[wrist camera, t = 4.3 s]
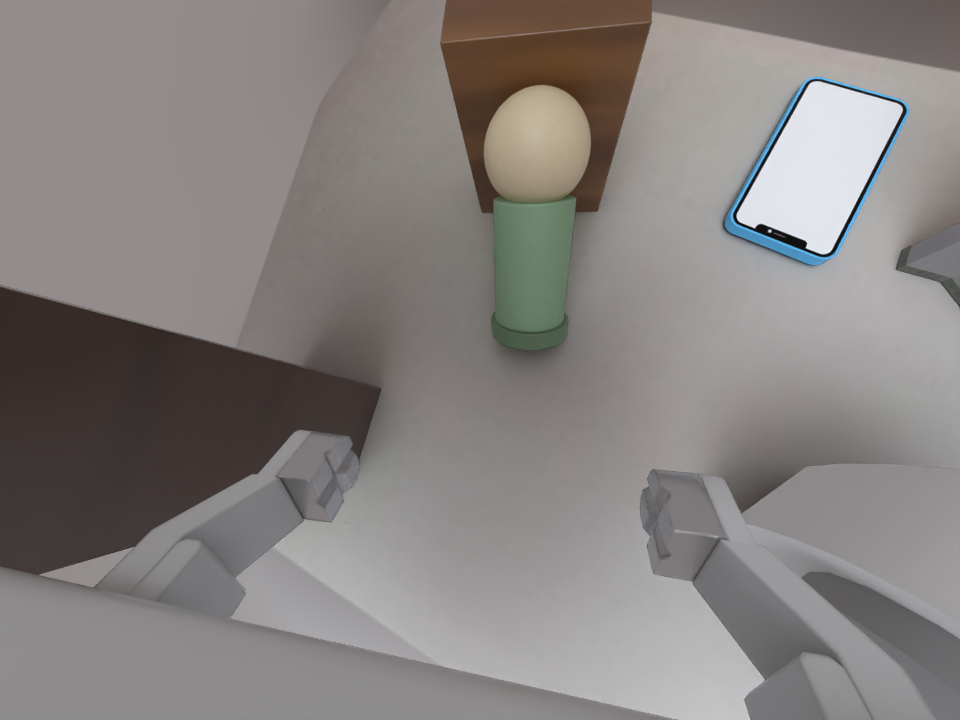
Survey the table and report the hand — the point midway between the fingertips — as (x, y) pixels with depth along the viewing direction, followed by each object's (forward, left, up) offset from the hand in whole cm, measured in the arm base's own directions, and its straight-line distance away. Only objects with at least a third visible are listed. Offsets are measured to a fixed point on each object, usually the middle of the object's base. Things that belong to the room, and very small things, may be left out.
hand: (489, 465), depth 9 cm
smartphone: (+17, +26, -18) cm, 36 cm away
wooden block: (-3, +21, -18) cm, 28 cm away
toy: (-2, +13, -18) cm, 22 cm away
